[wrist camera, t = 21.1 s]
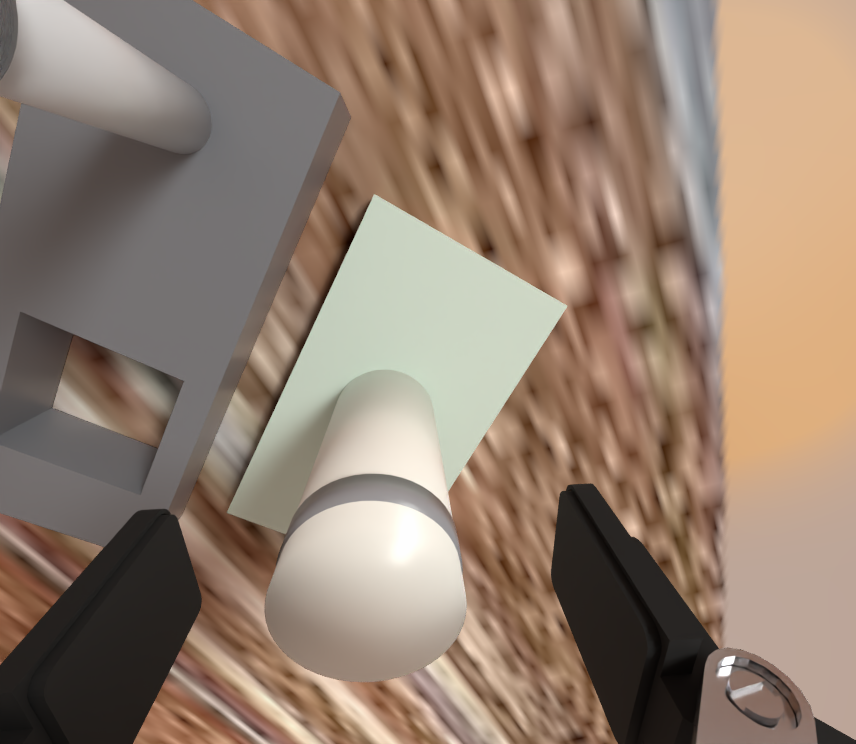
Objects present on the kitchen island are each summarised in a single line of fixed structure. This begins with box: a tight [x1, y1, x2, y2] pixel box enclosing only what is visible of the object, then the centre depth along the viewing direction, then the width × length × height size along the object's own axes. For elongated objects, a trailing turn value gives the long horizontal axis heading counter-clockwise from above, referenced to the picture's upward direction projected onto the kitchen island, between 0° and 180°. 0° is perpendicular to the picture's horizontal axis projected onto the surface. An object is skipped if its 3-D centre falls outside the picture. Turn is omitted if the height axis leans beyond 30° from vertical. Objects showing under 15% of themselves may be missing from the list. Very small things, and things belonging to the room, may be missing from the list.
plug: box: [265, 370, 467, 682], centre depth 14 cm, size 4×4×10 cm
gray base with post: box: [0, 0, 351, 547], centre depth 12 cm, size 20×8×10 cm, turn 152°
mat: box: [227, 194, 567, 534], centre depth 19 cm, size 16×9×1 cm, turn 152°
